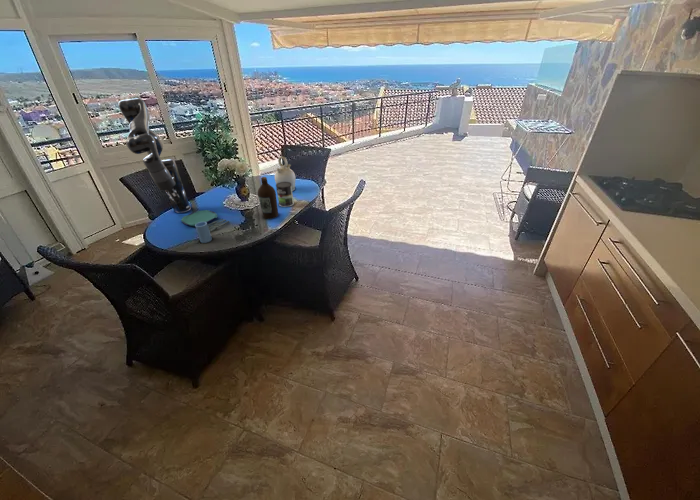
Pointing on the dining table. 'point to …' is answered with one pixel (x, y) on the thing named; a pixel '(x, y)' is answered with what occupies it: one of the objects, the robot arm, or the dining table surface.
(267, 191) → the brown bottle
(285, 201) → the coffee can
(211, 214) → the cutlery set
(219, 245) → the dining table surface
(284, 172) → the jug
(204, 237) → the cup
